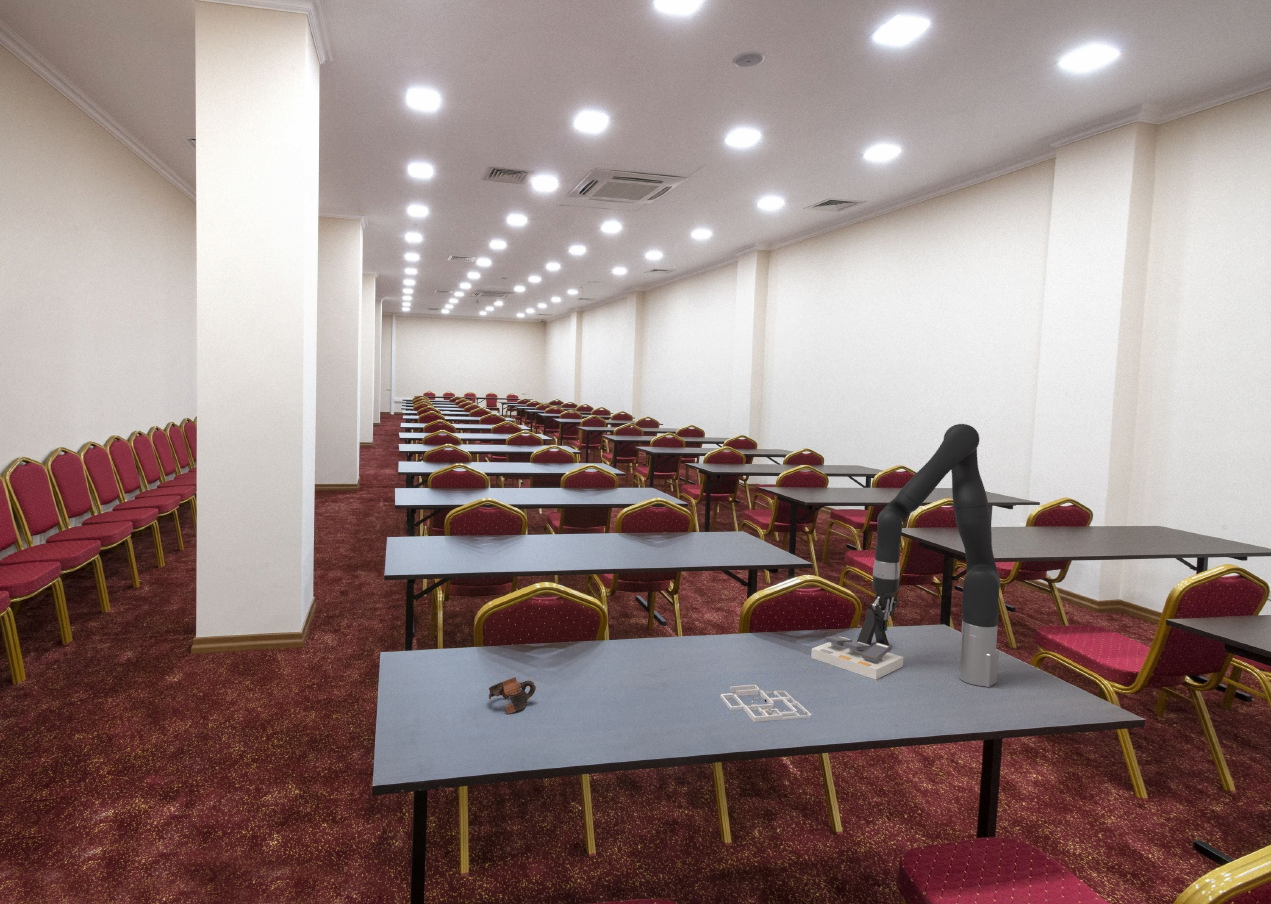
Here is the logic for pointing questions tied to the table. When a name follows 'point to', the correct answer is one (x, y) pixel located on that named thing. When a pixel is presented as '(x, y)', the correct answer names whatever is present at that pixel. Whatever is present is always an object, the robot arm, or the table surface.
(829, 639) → the block
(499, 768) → the table surface
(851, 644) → the block
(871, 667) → the switch unit
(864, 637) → the phone stand
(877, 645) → the rocker
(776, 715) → the floor plan model
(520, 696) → the pottery mug
